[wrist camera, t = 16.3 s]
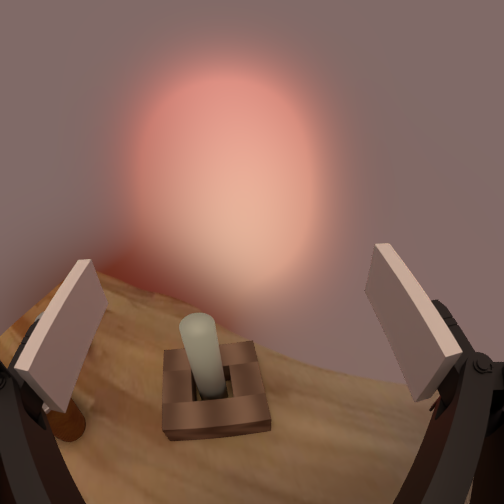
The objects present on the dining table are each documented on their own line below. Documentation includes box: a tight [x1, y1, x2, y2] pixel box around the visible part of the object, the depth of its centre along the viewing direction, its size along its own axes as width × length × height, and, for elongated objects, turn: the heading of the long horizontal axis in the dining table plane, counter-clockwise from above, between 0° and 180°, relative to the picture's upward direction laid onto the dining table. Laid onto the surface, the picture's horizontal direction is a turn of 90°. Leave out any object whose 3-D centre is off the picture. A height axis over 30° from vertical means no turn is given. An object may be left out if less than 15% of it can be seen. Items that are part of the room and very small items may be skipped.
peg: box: [179, 313, 228, 401], centre depth 36 cm, size 4×4×16 cm
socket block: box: [162, 341, 271, 441], centre depth 39 cm, size 14×14×4 cm
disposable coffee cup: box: [42, 398, 85, 442], centre depth 30 cm, size 10×10×12 cm
